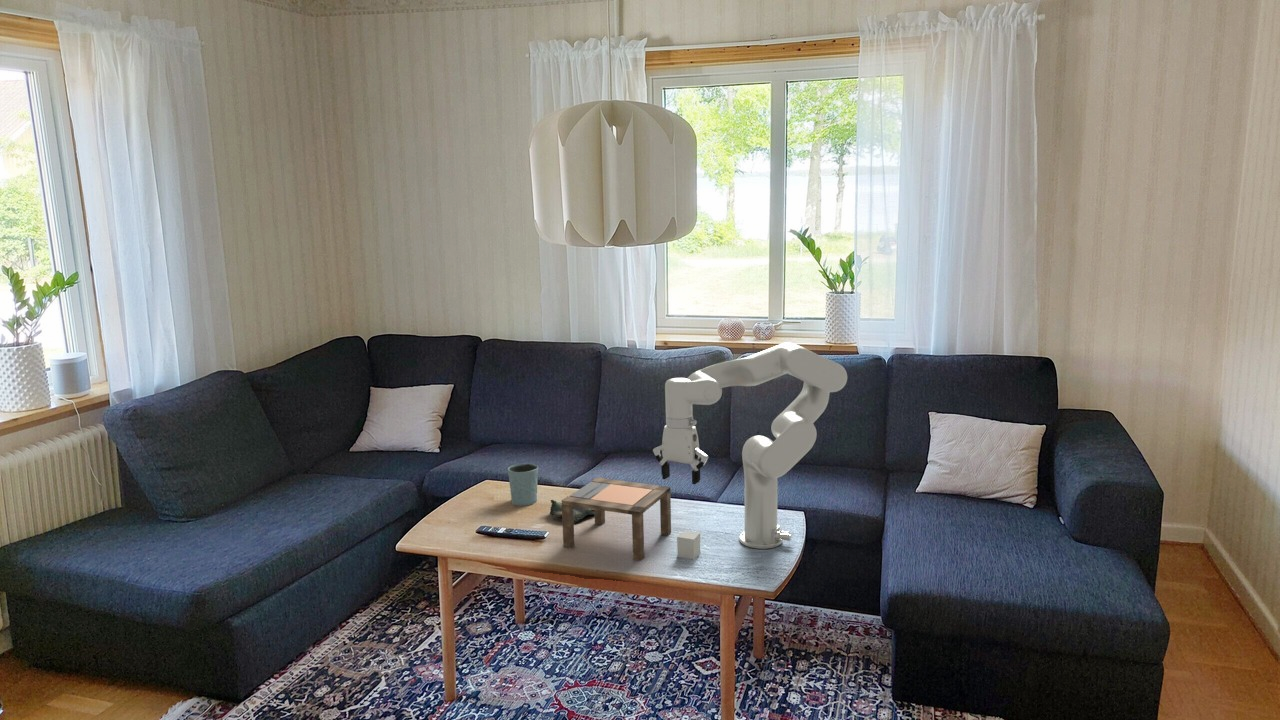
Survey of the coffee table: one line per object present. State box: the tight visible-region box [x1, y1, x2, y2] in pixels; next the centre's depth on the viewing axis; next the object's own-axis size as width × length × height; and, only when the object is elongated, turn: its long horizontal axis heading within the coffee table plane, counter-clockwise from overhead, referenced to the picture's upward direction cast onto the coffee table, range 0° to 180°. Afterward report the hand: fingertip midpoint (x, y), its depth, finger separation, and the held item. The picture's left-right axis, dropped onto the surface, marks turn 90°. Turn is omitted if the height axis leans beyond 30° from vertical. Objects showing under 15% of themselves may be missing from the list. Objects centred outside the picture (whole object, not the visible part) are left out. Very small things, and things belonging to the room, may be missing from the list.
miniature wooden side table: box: [561, 477, 672, 562], centre depth 250 cm, size 25×22×14 cm
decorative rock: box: [549, 499, 595, 526], centre depth 274 cm, size 19×6×15 cm
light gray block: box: [676, 530, 701, 560], centre depth 239 cm, size 5×5×6 cm
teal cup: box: [507, 462, 539, 507], centre depth 285 cm, size 10×10×12 cm
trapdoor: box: [569, 481, 653, 511], centre depth 250 cm, size 21×14×4 cm
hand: (680, 480), depth 239 cm, fingers open, 9 cm apart
